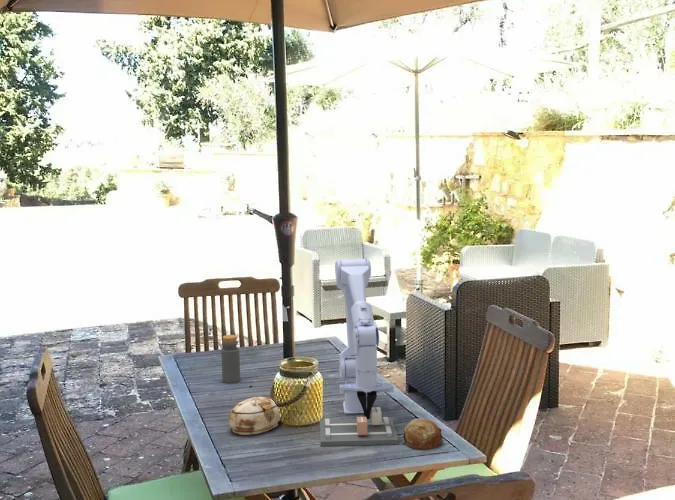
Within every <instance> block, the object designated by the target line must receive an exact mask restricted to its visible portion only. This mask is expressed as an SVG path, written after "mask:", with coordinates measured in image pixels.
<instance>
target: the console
mask: <svg viewBox="0 0 675 500" xmlns="http://www.w3.org/2000/svg"><path fill="white" fill-rule="evenodd" d="M381 422H382V425H372V421H371V417H370V419H367V435H358V433H357V418H339V419H338V418H337V419H336V418H334V419H333V418H332V419H330V418H324V419H319V429H320V432H319V436H320V439H319V441H320V447H341V446H344V447H345V446H348V445H349V446H373V445H374V446H375V445H376V446H377V445H383V446H384V445H398V444H399V438H398V433H397V430H396V427H395V423H394V421H393V417H388V416H383V417H381Z"/></svg>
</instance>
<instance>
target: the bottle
mask: <svg viewBox="0 0 675 500" xmlns="http://www.w3.org/2000/svg"><path fill="white" fill-rule="evenodd" d="M237 339H238V336H237V335H235V334H226V335H223V336H222V340H223V341H222V342H221V345H222V346H223V348H222V349H221V352H220V353H221V372H222V374H221V376H222V377H221V378H222V382H223V383H225V384H235V383H238V382H240V381H241V364H240V362H241V361H240V360H241V359H240V349H239V347H237V346H238V344H239V343H238V340H237Z"/></svg>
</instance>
